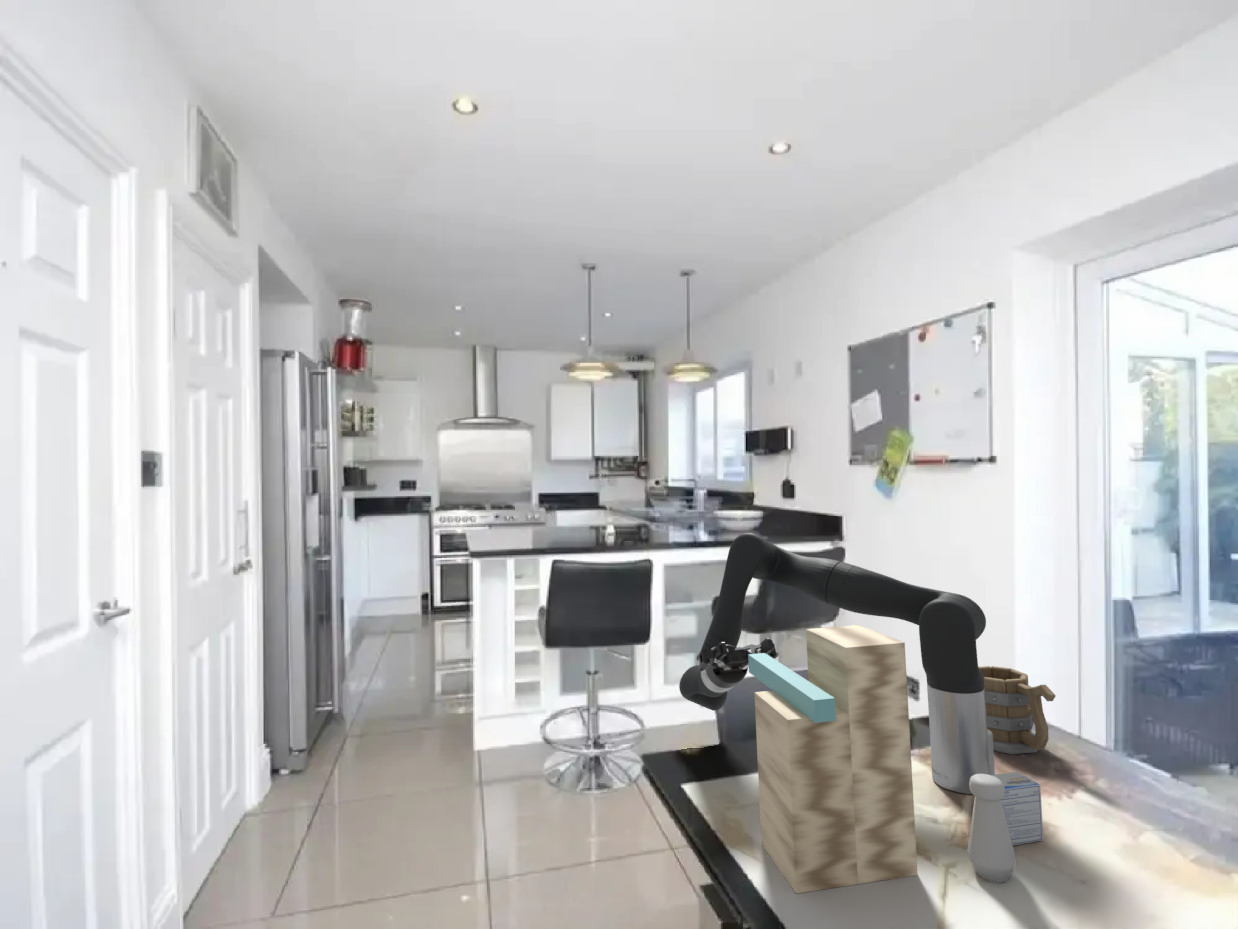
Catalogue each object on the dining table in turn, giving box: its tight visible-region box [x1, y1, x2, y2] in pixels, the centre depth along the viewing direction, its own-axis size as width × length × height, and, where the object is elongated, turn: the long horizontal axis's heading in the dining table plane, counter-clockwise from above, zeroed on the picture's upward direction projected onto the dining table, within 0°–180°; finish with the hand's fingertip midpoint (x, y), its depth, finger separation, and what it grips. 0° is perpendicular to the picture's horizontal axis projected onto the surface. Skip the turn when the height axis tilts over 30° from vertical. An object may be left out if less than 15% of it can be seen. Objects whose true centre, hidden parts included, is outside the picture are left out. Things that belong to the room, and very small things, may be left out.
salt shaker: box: [966, 774, 1017, 883], centre depth 87 cm, size 6×6×13 cm
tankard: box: [978, 665, 1056, 755], centre depth 126 cm, size 20×13×15 cm, turn 6°
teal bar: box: [748, 652, 836, 723], centre depth 96 cm, size 3×24×3 cm, turn 10°
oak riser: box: [753, 624, 919, 894], centre depth 92 cm, size 18×12×32 cm, turn 100°
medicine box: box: [991, 771, 1044, 846], centre depth 95 cm, size 8×4×9 cm, turn 100°
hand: (747, 645), depth 111 cm, fingers open, 8 cm apart
